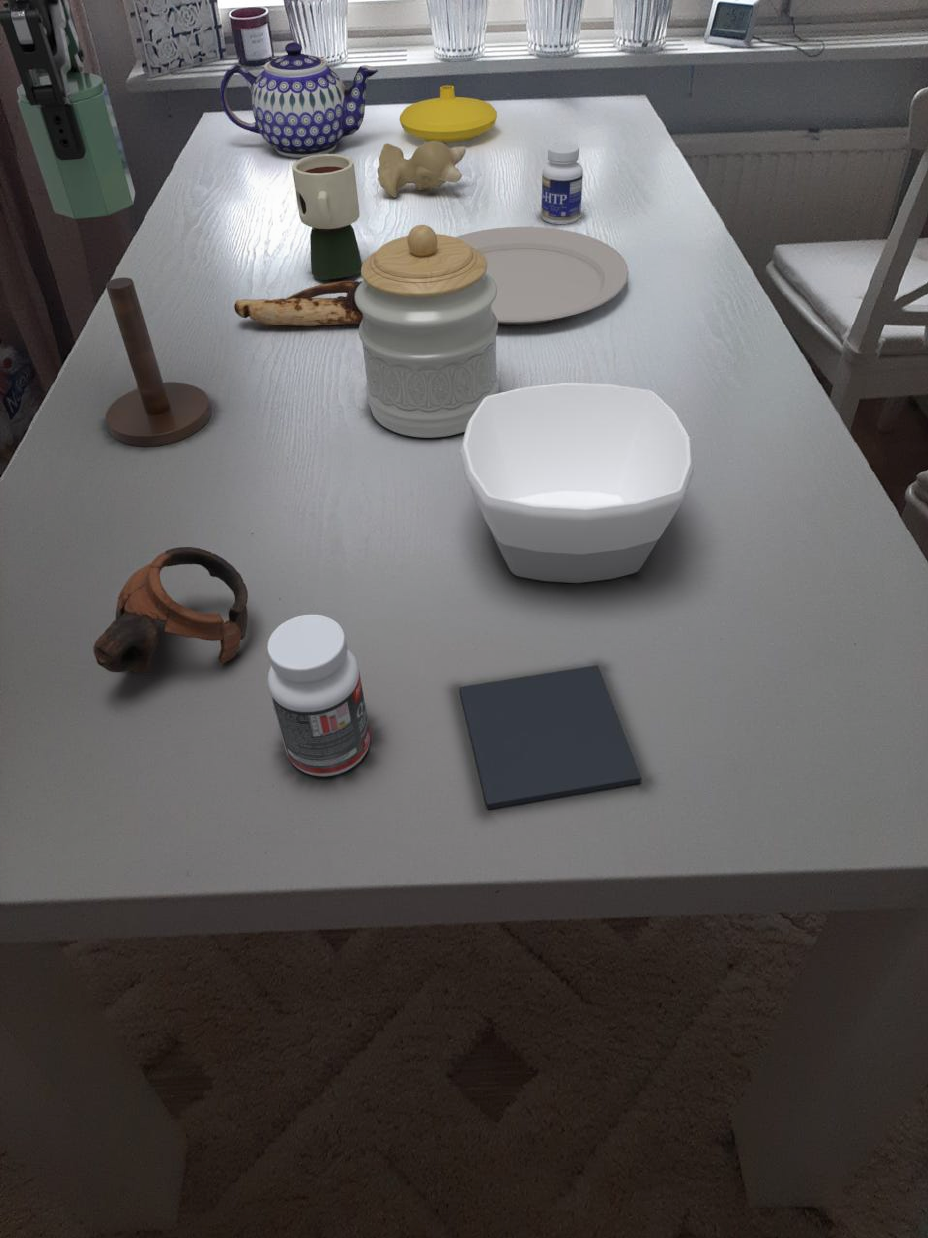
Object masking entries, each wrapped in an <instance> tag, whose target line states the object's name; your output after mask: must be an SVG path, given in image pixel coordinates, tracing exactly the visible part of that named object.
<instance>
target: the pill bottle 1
mask: <svg viewBox="0 0 928 1238" xmlns="http://www.w3.org/2000/svg"><path fill="white" fill-rule="evenodd" d="M266 647H267V654H268V658H269V662H270V666H269V670H268V673H267V686H268V690H269V692H268V693H269V696H270V699H271V702H272V706H273V709H274V712H275V716H276V720H277V724H278V728H279V732H280V734H281V738H282V743H283V745H284V748H285V752H286V755H287V757H288V759H289V761H290V762H291V764H292V765H293V766H294V767H295V768H296V769H298V770H299V771H301V772H303V773H305V774H307V775H310V776H314V777H331V776H336V775H341V774H343V773H345V772H347V771H349V770H351V769H352V768H354V767H355V766H356V765H358V764H359V763H360V762H361V761H362V760H363V758H364V757H365V755H366V754H367V752H368V750H369V748H370V743H371V729H370V723H369V722H370V721H369V718H368V711H367V706H366V702H365V696H364V690H363V685H362V678H361V673H360V667H359V663H358V661H357V660H356V657H355V656H354V654H353V653H352V652H351V651H350V650H349V649H348V643H347V640H346V634H345V632H344V630H343V628H342V626H341V625H340V624H339V623H338V622H337V621H336V620H334V619H332V618H331V617H328V616H326V615H321V614H302V615H298V616H294V617H291V618H290V619H288V620H286V621H284V622H282V623H281V624H280V625H279V626H277V627H276V628H275V629H274V630H273V632H271V634H270V636H269V638H268V641H267V646H266Z"/></svg>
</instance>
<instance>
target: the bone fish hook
mask: <svg viewBox="0 0 928 1238" xmlns="http://www.w3.org/2000/svg"><path fill="white" fill-rule="evenodd" d="M362 281H363V280H360V281H359V280H341V281H333V282H328V283H323V284H319V285H314V286H312V287H311V286H310V287H308V288H305V289H302V290H300V291H298V292H296V293H294V294H292V295H290V296H288V297H287V298H275V299H274V298H273V299H267V298H261V299H260V298H257V299H245V298H244V299H237V300H236V301H235V303H234V305H233V308H234V313H235V314H236V315H238V316H239V317H240V318H242V319H246V318H250V320H252V321H253V322H255V323H260V324H264V325H268V326H270V325H273V326H275V325H276V326H284V325H285V326H286V325H287V326H295V327H298V326H299V327H301V326H304V327H306V326H308V327H315V326H326V325H327V326H339V325H352V324H353V325H355V324H359V325H360V323H361V321H362V320H363V313H362V312H361V311H360V310H359V308H358V307H357V305H356V303H355V292H356V289H357V287H358V286H359V285H360V283H361V282H362ZM333 294H335V295H336V294H346V296H344V295H340V296H337V297H328V298H327V297H326V298H321V297H319V296H325V295H333ZM316 297H317V298H316Z"/></svg>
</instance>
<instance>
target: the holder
mask: <svg viewBox="0 0 928 1238" xmlns="http://www.w3.org/2000/svg"><path fill="white" fill-rule="evenodd" d="M105 288H106V292H107V294H108V298H109V301H110V304H111V307H112V310H113V313H114V317H115V320H116V323H117V325H118V329H119V332H120V335H121V338H122V341H123V346H124V348H125V351H126V354H127V358H128V360H129V364H130V367H131V370H132V373H133V377H134V379H135V383H136V386H137V388H135V389H133V390H130V391H128V392H127V393H124V394H123V395H120V397H118V398H117V399H116V400H114V401H113V403H111V405H110V406H109V407H108V409H107V411H106V414H105V421H106V424H107V427H108V430H109V433H110V434H111V436H112V437H113V438H114V439H116V440H117V441H118V442H121V443H122V444H125V445H128V446H134V447H143V448H144V447H160V446H164V445H170V444H173V443H176V442H180V441H182V440H184V439H187V438H188V437H189V438H190V437H191V436H192V435H194V434H196V433H197V432H199V431H200V430H201V429H203V428H204V427H205V425H206V424H207V423H208V422H209V421H210V419H211V418H210V417H211V415H212V408H211V407H212V406H211V403H210V399H209V397H208V395H207V393H206V392H205V391H204V390H203V389H201V388H200V387H198V386H196V385H193V384H190V383H185V382H175V381H170V382H169V381H167V382H164V381H163V378H162V374H161V371H160V368H159V365H158V360H157V357H156V354H155V350H154V348H153V344H152V341H151V338H150V337H151V336H150V334H149V333H150V332H149V329H148V326H147V322H146V320H145V317H144V313H143V309H142V306H141V303H140V300H139V295H138V293H137V290H136V286H135V282H134V280H133V279H132V278H130V277H116V278H114V279H111V280H109V281H107V283H106V284H105Z"/></svg>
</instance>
